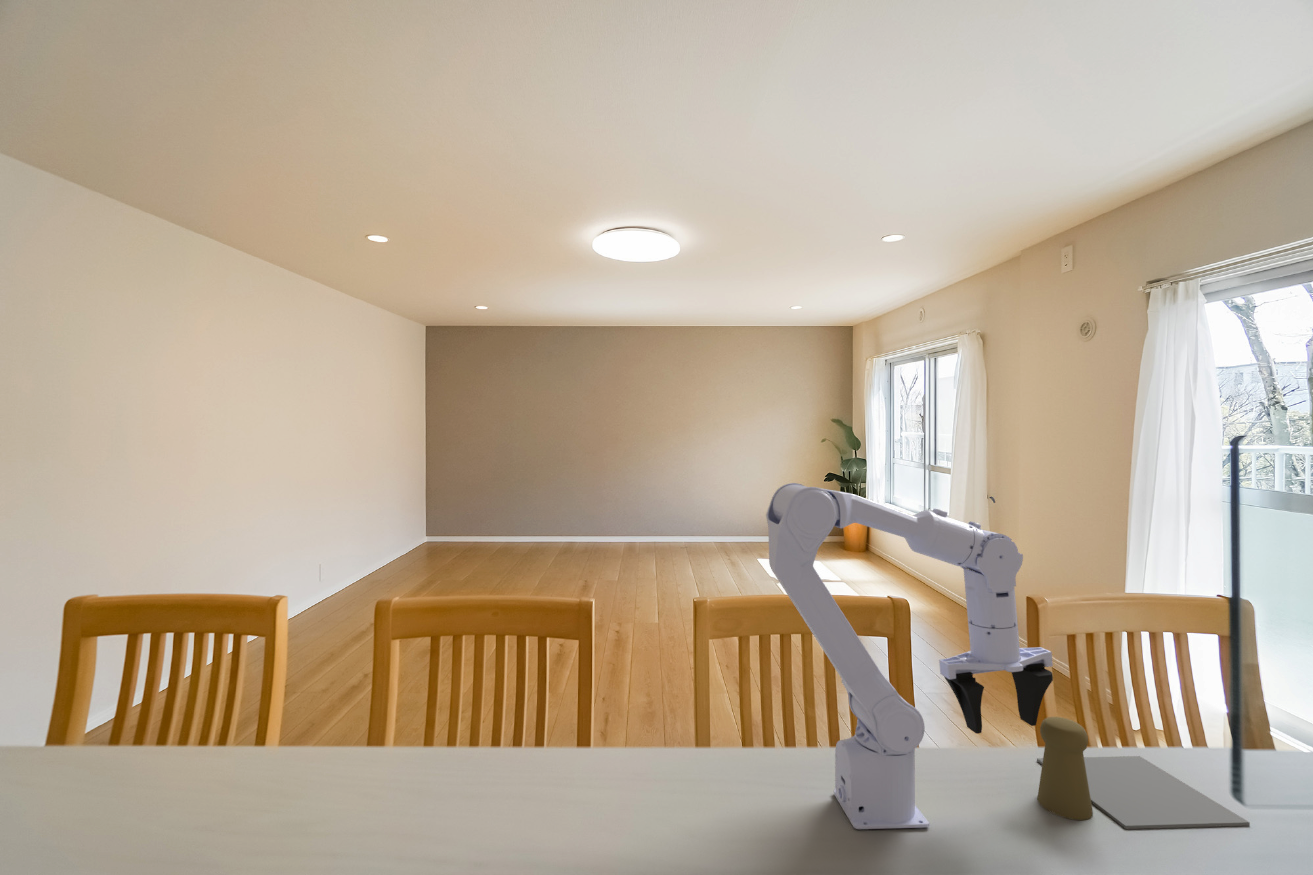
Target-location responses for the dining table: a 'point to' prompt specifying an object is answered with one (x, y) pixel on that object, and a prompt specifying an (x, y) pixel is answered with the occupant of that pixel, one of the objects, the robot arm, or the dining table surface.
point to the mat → (1150, 796)
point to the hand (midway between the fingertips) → (1001, 726)
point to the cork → (1064, 769)
